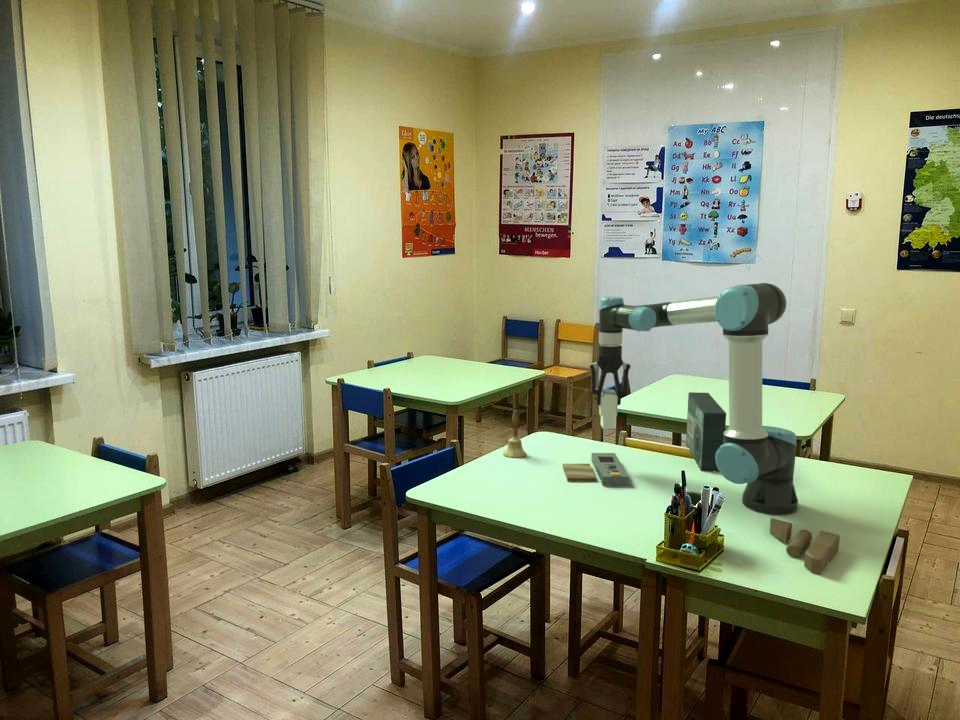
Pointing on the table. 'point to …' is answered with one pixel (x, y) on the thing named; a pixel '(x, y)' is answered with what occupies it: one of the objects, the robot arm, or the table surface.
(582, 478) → the walnut board
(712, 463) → the cassette player
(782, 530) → the wooden block set
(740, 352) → the robot arm
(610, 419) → the block
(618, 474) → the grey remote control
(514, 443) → the hand bell
